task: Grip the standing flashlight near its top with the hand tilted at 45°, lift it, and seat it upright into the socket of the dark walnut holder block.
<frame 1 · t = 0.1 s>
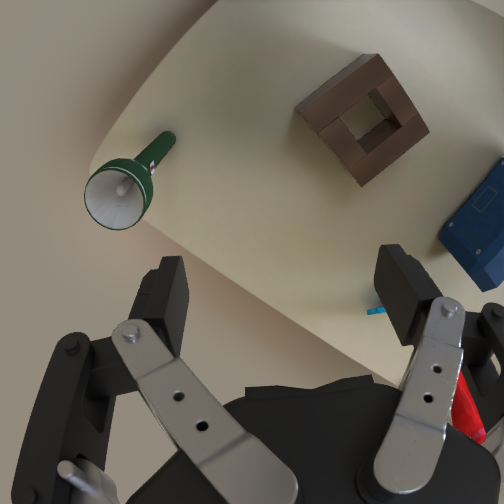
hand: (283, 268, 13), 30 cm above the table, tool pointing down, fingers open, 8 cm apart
radio: (481, 203, 45), on the table
holder: (357, 114, 38), on the table
water bottle: (448, 359, 67), on the table
flashlight: (168, 138, 39), on the table
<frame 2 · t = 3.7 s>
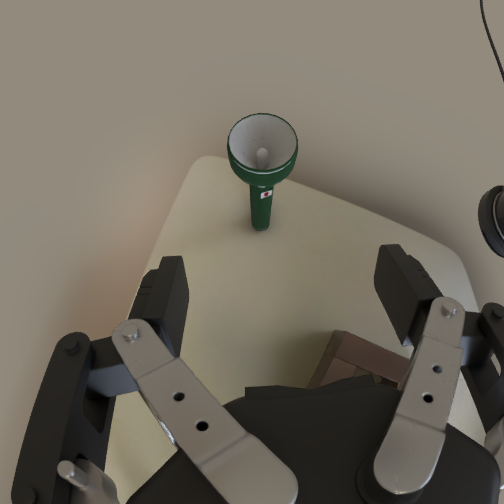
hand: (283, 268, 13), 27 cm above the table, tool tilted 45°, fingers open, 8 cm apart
holder: (354, 390, 37), on the table
flashlight: (260, 224, 42), on the table
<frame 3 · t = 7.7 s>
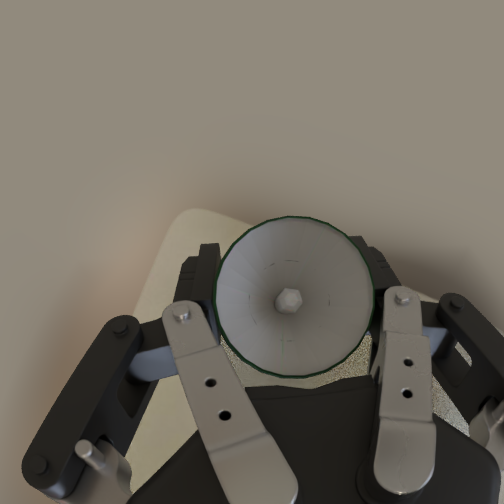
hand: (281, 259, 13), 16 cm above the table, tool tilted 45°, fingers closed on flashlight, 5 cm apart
flashlight: (268, 314, 29), on the table, touching gripper
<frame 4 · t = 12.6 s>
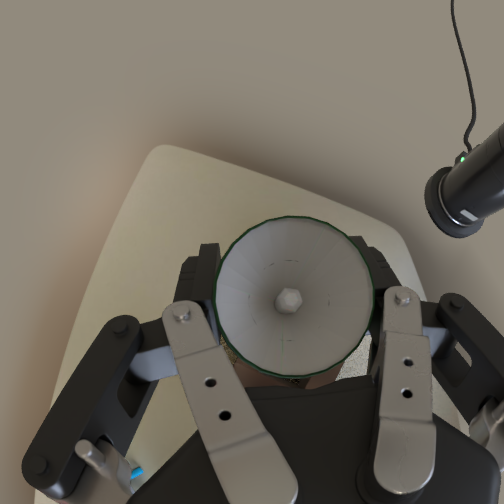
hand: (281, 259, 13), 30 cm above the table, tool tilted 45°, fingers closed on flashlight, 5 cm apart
holder: (287, 356, 41), on the table
flashlight: (268, 314, 29), point 14 cm above the table, touching gripper
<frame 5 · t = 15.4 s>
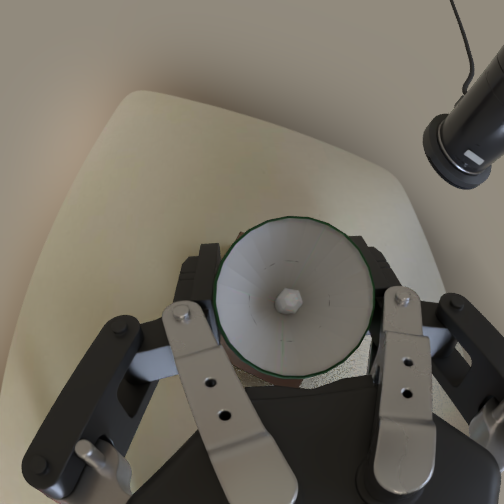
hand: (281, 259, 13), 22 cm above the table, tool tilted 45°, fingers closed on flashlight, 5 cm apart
holder: (266, 314, 35), on the table
flashlight: (268, 314, 29), point 6 cm above the table, touching gripper
when the fingers open (16 cm above the table, at t = 17.6 s): flashlight stays where it is, resting in holder.
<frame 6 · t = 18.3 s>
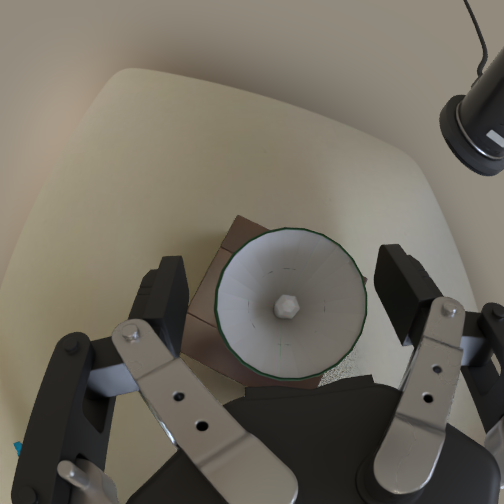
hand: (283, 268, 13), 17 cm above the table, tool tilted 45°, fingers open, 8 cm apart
holder: (268, 315, 29), on the table
flashlight: (268, 316, 30), resting in holder
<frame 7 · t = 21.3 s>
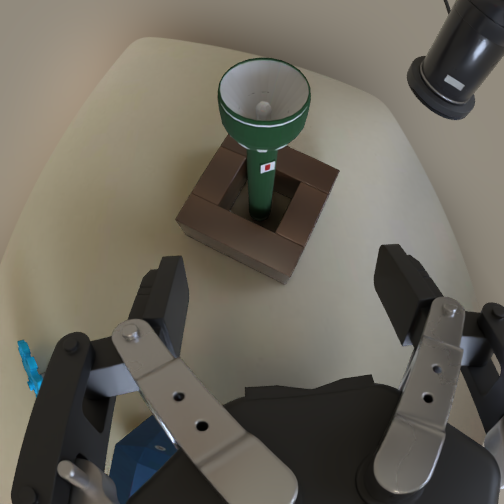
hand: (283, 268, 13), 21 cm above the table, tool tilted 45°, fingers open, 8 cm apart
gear: (57, 383, 31), on the table
radio: (241, 468, 29), on the table
holder: (259, 211, 35), on the table
flashlight: (259, 213, 35), resting in holder
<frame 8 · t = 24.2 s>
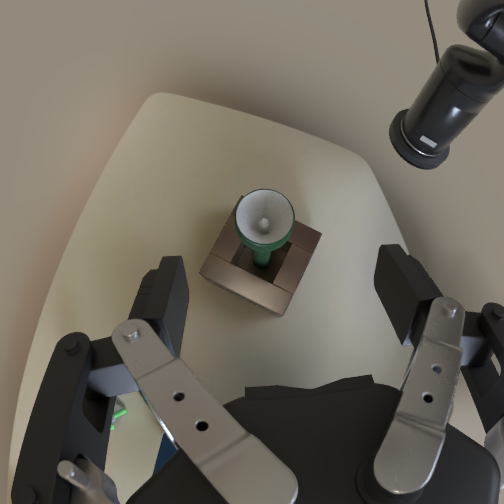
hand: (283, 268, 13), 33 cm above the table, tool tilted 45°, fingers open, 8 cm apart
radio: (247, 452, 40), on the table
holder: (260, 260, 46), on the table
flashlight: (261, 262, 46), resting in holder
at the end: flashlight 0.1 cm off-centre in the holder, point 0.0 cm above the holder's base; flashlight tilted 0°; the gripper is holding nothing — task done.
